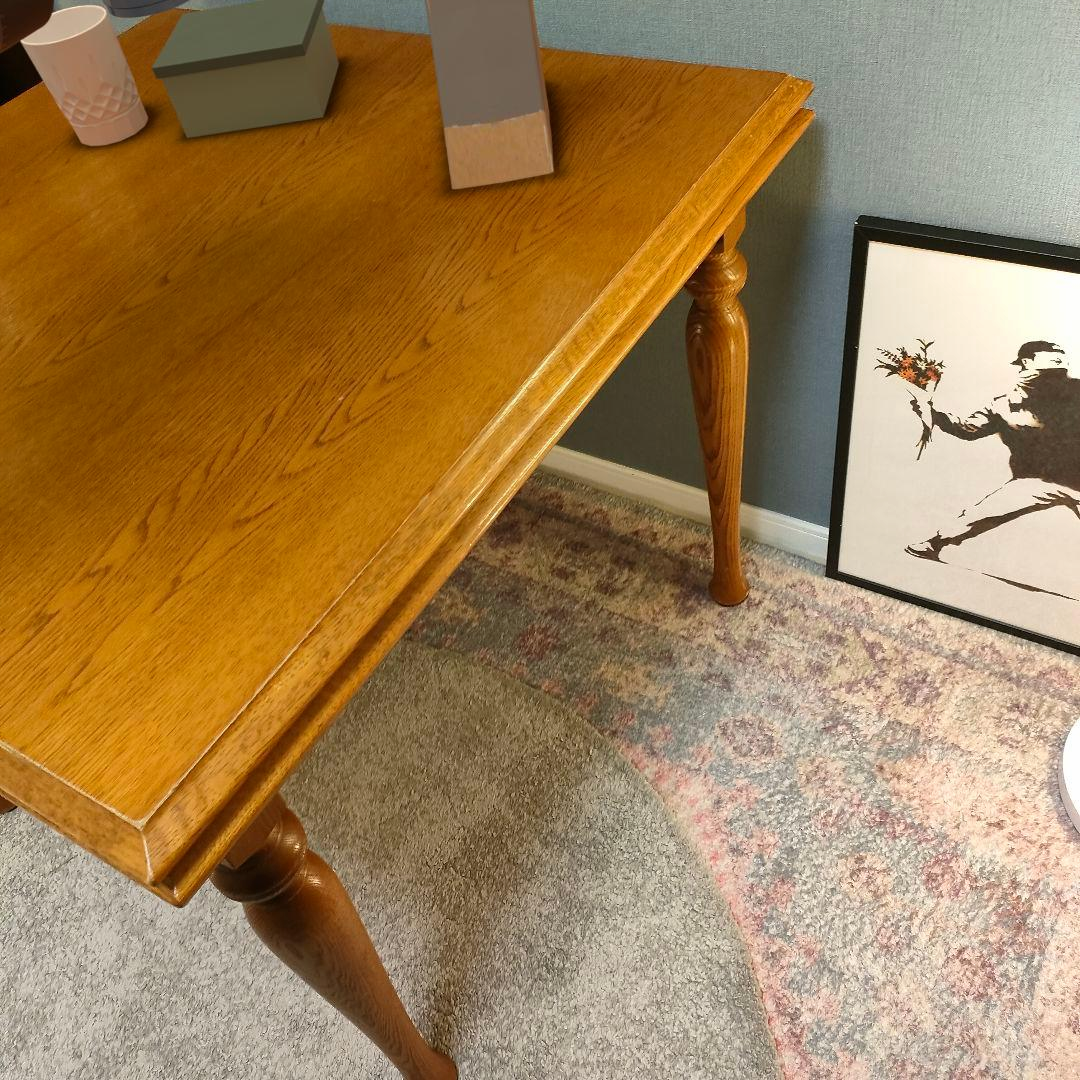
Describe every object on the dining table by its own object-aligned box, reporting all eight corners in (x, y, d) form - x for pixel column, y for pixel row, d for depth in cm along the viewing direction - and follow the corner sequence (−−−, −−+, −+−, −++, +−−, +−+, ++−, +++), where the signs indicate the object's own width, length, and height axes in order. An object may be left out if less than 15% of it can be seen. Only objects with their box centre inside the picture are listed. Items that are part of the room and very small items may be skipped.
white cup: (94, 161, 93) (38, 51, 85) (62, 138, 97) (6, 32, 90) (169, 124, 95) (120, 15, 88) (134, 103, 100) (85, -2, 92)
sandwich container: (449, 197, 79) (400, -4, 67) (451, 107, 89) (409, -81, 78) (557, 179, 78) (526, -27, 67) (546, 90, 88) (518, -102, 77)
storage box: (184, 144, 92) (151, 67, 87) (211, 86, 100) (182, 13, 95) (327, 122, 91) (301, 43, 85) (343, 65, 98) (321, -10, 93)
